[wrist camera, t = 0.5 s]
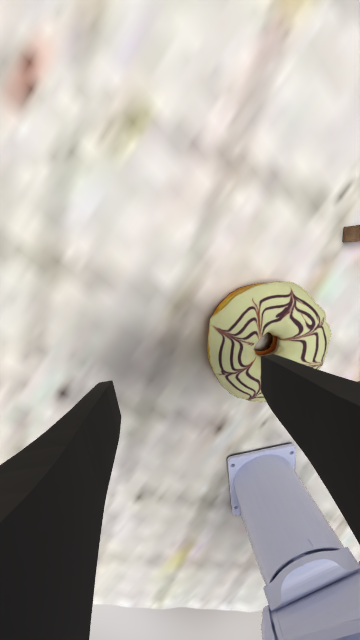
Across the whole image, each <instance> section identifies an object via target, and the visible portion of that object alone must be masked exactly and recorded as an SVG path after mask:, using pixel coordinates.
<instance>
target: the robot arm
mask: <svg viewBox="0 0 360 640" xmlns="http://www.w3.org/2000/svg"><path fill="white" fill-rule="evenodd" d="M261 392H262V394H263V396H264V398H265V400H266V402H267V403H268V405H269V407H270V408H271V410H272V411H273V413H274V414H275V415H276V417H277V418H278V419H279V421H280V422H281V423H282V425H283V426H284V427H285V429H286V430H287V431H288V433H289V434H290V435H291V437H292V438H293V439H294V440H295V442H296V443H297V444H298V446H299V447H300V448H301V450H302V451H303V452H304V454H305V455H306V457H307V458H308V459H309V461H310V462H311V464H312V465H313V467H314V469H315V470H316V472H317V473H318V475H319V476H320V478H321V480H322V481H323V483H324V484H325V486H326V488H327V489H328V491H329V493H330V494H331V496H332V498H333V499H334V501H335V503H336V504H337V506H338V508H339V509H340V511H341V513H342V514H343V516H344V518H345V520H346V521H347V523H348V525H349V527H350V528H351V530H352V532H353V534H354V535H355V537H356V539H357V541H358V543H359V544H360V383H359V382H355V381H352V380H348V379H345V378H342V377H339V376H335V375H332V374H329V373H326V372H323V371H320V370H317V369H315V368H312V367H309V366H306V365H304V364H301V363H298V362H296V361H293V360H290V359H287V358H284V357H282V356H278V355H275V354H270V355H264V356H261ZM120 424H121V414H120V410H119V406H118V402H117V398H116V393H115V389H114V385H113V381H107V382H101V383H98V384H97V385H96V386H95V387H94V388H93V389H92V390H91V391H89V392H88V393H87V394H86V395H85V396H84V397H83V398H82V399H81V400H80V401H79V402H78V403H77V404H76V405H75V406H74V407H73V408H72V409H71V410H70V411H69V412H68V413H66V414H65V415H64V416H63V417H62V418H61V419H60V420H59V421H57V422H56V423H55V424H54V425H53V426H52V427H51V428H49V429H48V430H47V431H46V432H45V433H43V434H42V435H41V436H40V437H38V438H37V439H36V440H35V441H33V442H32V443H31V444H29V445H28V446H27V447H25V448H24V449H23V450H21V451H20V452H19V453H17V454H16V455H14V456H13V457H11V458H10V459H8V460H7V461H6V462H4V463H3V464H1V465H0V640H89V635H90V623H91V613H92V604H93V594H94V585H95V575H96V567H97V558H98V550H99V542H100V534H101V527H102V519H103V512H104V505H105V500H106V494H107V489H108V485H109V481H110V476H111V472H112V468H113V463H114V459H115V454H116V450H117V445H118V441H119V434H120ZM295 454H296V447H295V446H294V445H293V444H286V445H281V446H276V447H272V448H267V449H262V450H258V451H253V452H248V453H243V454H239V455H234V456H230V457H229V458H228V459H227V462H228V474H229V485H230V496H231V508H232V513H233V515H235V516H237V515H242V518H243V521H244V524H245V527H246V530H247V533H248V536H249V539H250V542H251V545H252V548H253V551H254V554H255V557H256V560H257V563H258V566H259V569H260V572H261V575H262V577H263V579H264V581H265V583H266V586H264V592H265V595H266V598H267V601H268V604H269V605H268V606H265V607H264V608H263V612H262V624H261V630H262V638H263V640H360V561H359V564H358V562H357V561H356V559H355V558H354V556H353V555H352V553H351V552H350V550H349V548H348V547H345V548H344V546H343V544H342V543H341V541H340V540H339V538H338V537H337V535H336V534H335V532H334V531H333V529H332V528H331V526H330V524H329V523H328V521H327V520H326V518H325V517H324V515H323V514H322V512H321V511H320V509H319V508H318V506H317V504H316V503H315V501H314V500H313V498H312V497H311V495H310V494H309V492H308V491H307V489H306V487H305V486H304V484H303V483H302V481H301V480H300V478H299V477H298V475H297V474H296V472H295Z"/></svg>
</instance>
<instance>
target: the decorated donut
mask: <svg viewBox="0 0 360 640" xmlns="http://www.w3.org/2000/svg"><path fill="white" fill-rule="evenodd" d="M267 332H269V333H271V334H272V336H273V342H272V343H271V346H270V348H268V349H267V350H265V351H256V350H255V349H254V347H255V345H256V344H257V342H258V341H259V340H260V339H261V338H262V337H263V336H264V335H265V333H267ZM330 337H331V330H330V327H329V325H328V323H327V322H326V316H325V312H324V310H323V309H322V308H321V307H320V306H319V305H318V304H316V303H315V301H314V299H313V298H312V297H311V296H310V295H309V294H308V293H307V292H306V291H305V290H304V289H303V288H302V287H300V286H299V285H297V284H294V283H292V282H272V283H260V284H254V285H249V286H245V287H241V288H239V289H237V290H236V291H234V292H232V293H230V294H229V295H228V296H227V297H226V299H224V300H223V301H222V302H221V303H220V304H219V306H218V307H217V308H216V310H215V312H214V313H213V315H212V316H211V319H210V324H209V330H208V344H207V351H208V359H209V362H210V365H211V367H212V370H213V371H214V374H215V375H216V377H217V379H218V380H219V382H220V383H221V385H222V386H223V387H224V388H225V389H227V390H228V392H229V393H231V394H232V395H234V396H236V397H238V398H243V399H246V400H249V401H258V402H266V400H265V398H264V396H263V394H262V392H261V356H264V355H270V354H275V355H278V356H282V357H284V358H287V359H290V360H293V361H296V362H298V363H301V364H304V365H306V366H309V367H312V368H315V369H317V370H319V369H320V367H321V366H322V365H323V363H324V360H325V357H326V354H327V350H328V345H329V341H330Z"/></svg>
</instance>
